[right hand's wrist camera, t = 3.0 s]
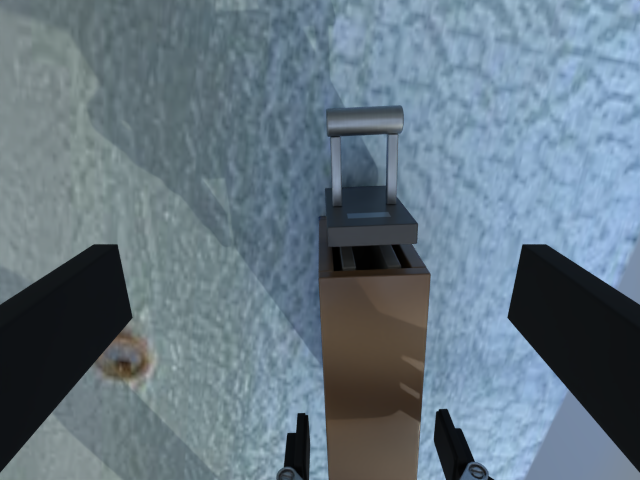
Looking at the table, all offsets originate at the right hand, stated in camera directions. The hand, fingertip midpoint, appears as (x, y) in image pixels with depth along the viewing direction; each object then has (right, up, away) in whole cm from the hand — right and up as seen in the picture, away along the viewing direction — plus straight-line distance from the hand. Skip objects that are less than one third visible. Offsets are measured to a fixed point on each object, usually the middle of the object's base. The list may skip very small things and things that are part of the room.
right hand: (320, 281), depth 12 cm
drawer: (+3, +1, +18) cm, 19 cm away
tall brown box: (+3, -4, +22) cm, 22 cm away
